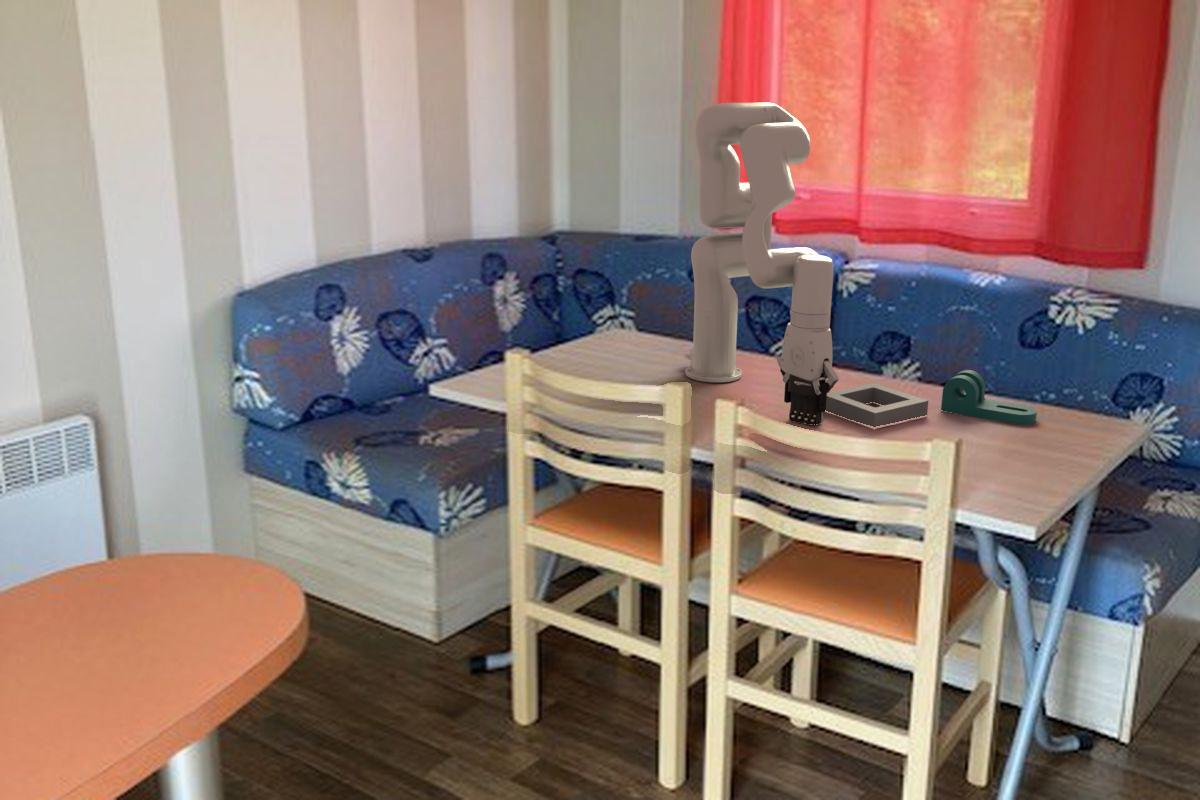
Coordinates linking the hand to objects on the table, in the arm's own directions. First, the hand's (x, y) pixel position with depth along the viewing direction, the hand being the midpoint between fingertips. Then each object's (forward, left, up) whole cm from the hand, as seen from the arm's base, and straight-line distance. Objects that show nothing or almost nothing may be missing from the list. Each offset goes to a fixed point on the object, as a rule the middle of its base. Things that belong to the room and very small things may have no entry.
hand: (804, 406), depth 242 cm
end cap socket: (+3, +16, -4) cm, 17 cm away
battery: (0, 0, -4) cm, 4 cm away
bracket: (+16, +36, -4) cm, 39 cm away
